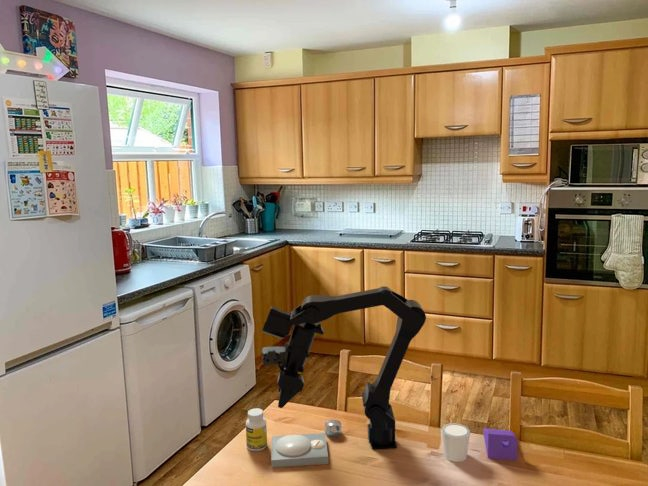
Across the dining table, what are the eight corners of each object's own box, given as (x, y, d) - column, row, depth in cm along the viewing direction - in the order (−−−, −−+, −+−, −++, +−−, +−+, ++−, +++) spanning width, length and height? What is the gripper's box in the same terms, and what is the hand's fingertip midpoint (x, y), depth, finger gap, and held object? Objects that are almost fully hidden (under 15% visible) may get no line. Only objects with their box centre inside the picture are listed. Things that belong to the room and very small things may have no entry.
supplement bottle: (243, 450, 138) (241, 415, 136) (251, 439, 143) (249, 405, 141) (263, 453, 136) (261, 417, 135) (270, 441, 142) (268, 407, 140)
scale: (324, 439, 142) (324, 430, 141) (328, 463, 131) (328, 454, 131) (272, 443, 141) (272, 434, 140) (271, 467, 130) (271, 457, 130)
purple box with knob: (516, 461, 131) (517, 436, 129) (487, 459, 132) (488, 433, 131) (509, 435, 142) (510, 412, 141) (483, 433, 144) (484, 410, 142)
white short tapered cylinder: (474, 454, 133) (475, 429, 132) (460, 466, 128) (461, 440, 127) (450, 444, 138) (450, 420, 137) (436, 456, 133) (436, 430, 132)
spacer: (340, 429, 147) (340, 419, 147) (342, 437, 143) (341, 427, 142) (324, 429, 147) (324, 419, 146) (325, 438, 143) (325, 428, 142)
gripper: (270, 323, 143) (252, 376, 145) (268, 346, 125) (247, 406, 127) (309, 336, 145) (290, 388, 146) (313, 360, 126) (291, 419, 128)
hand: (280, 399), depth 137 cm, fingers open, 9 cm apart
